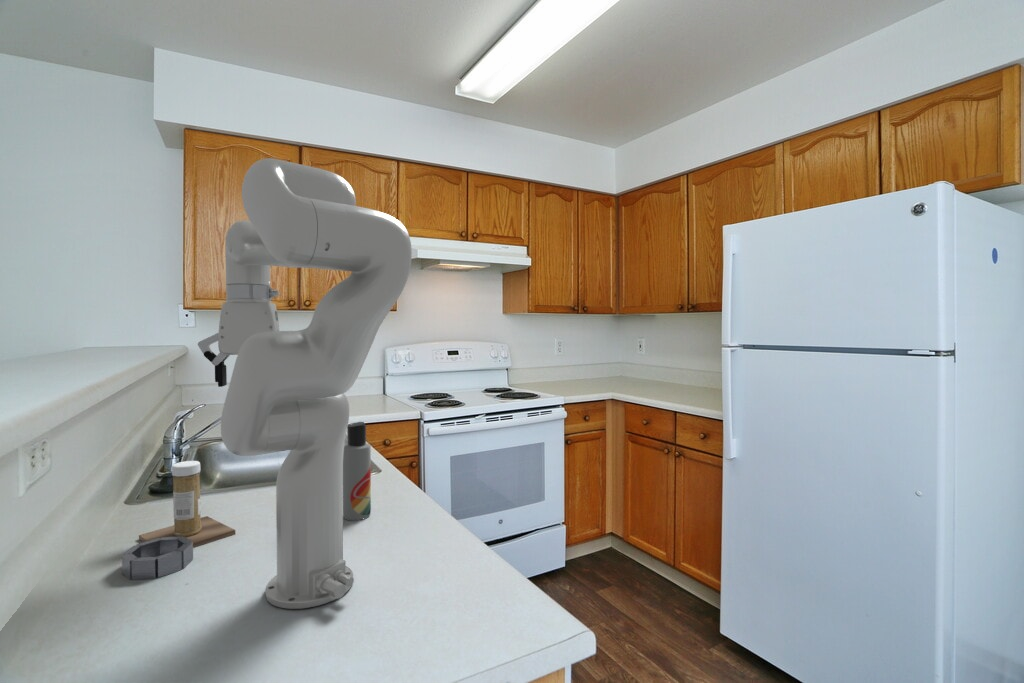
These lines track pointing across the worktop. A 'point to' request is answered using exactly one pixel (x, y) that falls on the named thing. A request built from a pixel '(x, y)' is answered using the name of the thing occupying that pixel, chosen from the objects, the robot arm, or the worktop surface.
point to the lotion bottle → (356, 473)
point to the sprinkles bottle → (186, 498)
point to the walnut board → (207, 534)
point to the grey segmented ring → (157, 557)
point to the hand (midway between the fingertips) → (250, 385)
